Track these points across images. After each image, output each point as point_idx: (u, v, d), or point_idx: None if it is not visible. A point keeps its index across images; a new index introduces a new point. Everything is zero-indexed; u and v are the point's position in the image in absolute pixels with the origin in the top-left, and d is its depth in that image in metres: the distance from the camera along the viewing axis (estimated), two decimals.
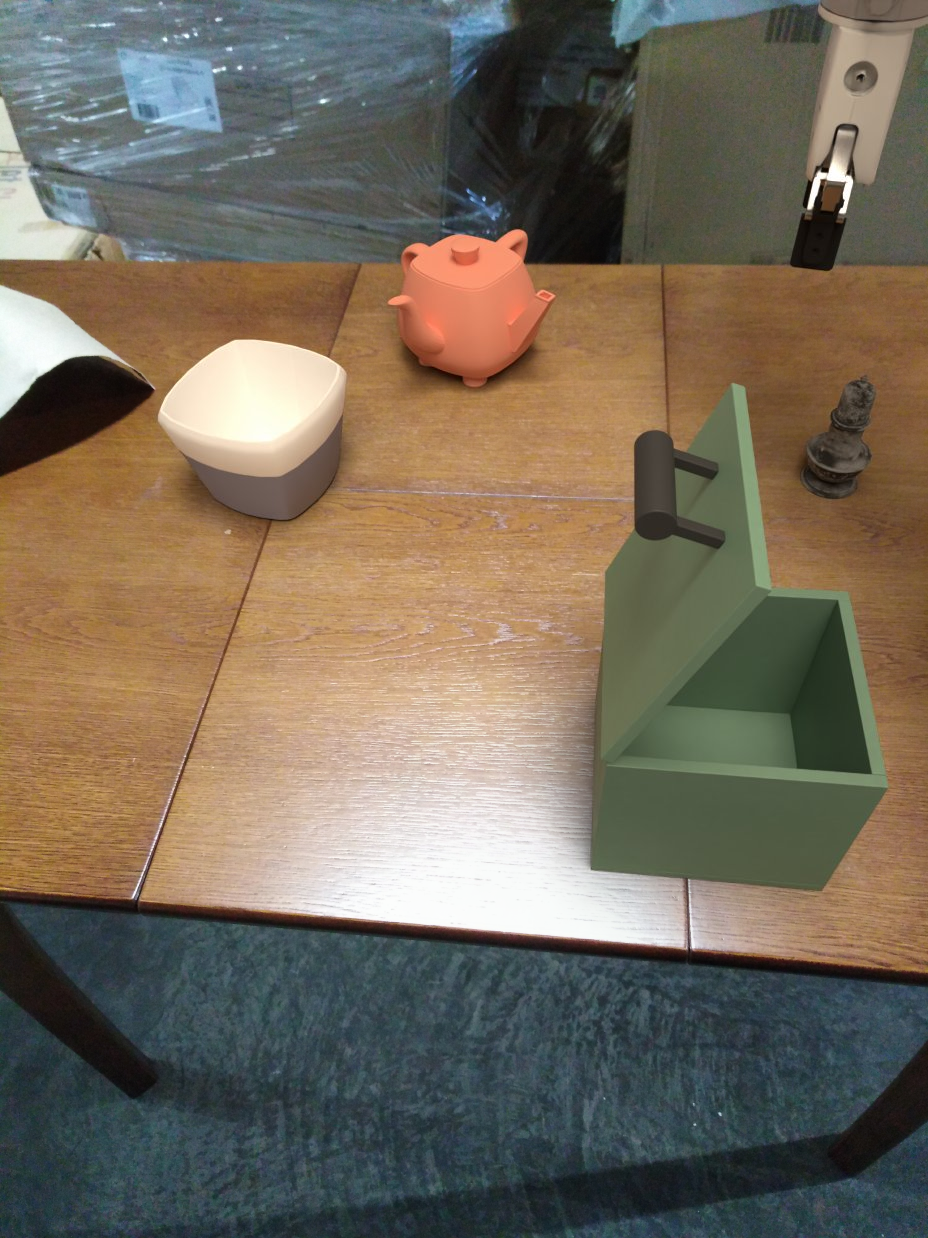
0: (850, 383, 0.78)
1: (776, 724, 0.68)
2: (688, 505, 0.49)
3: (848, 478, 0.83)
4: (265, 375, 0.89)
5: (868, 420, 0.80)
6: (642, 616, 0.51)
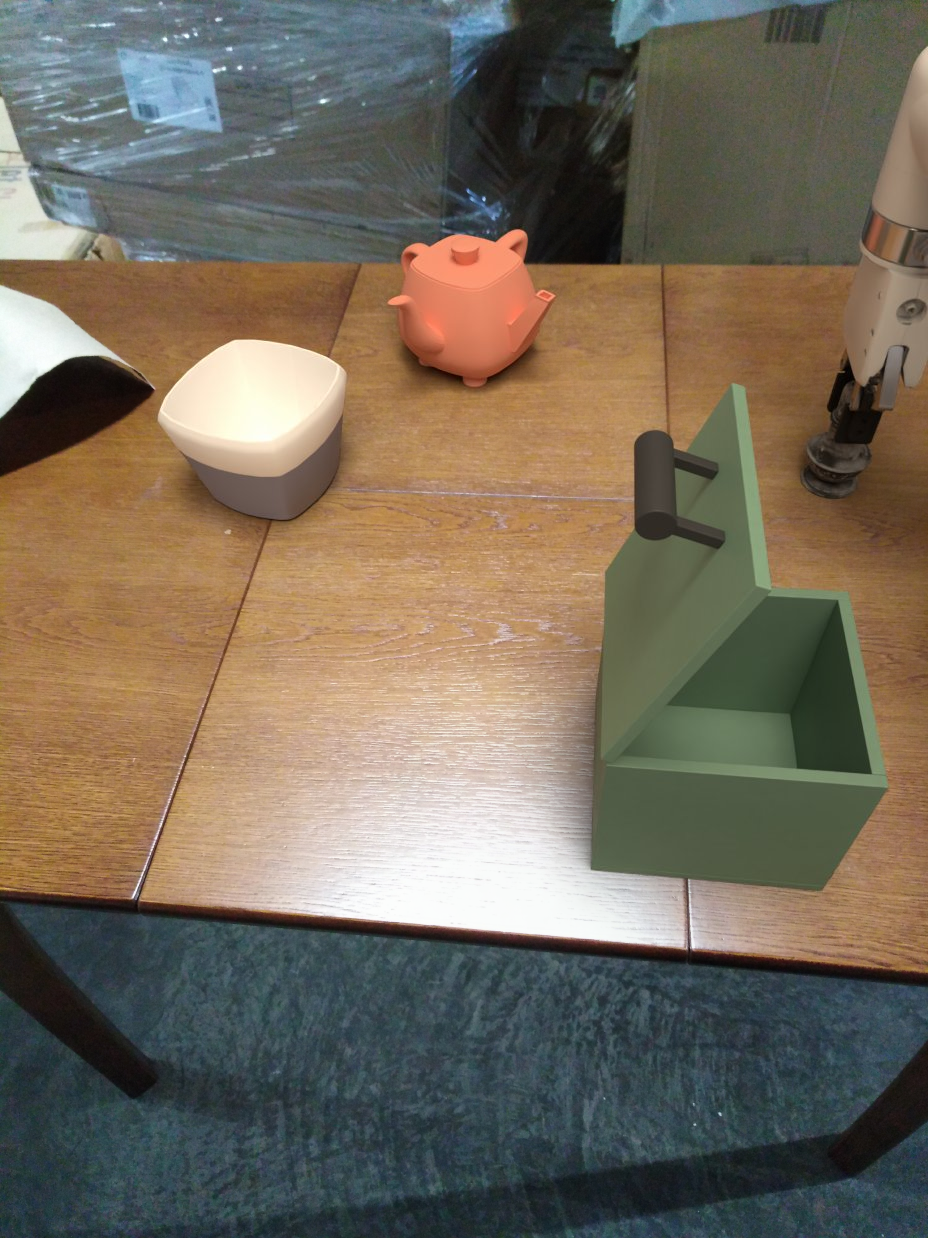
0: (850, 383, 0.78)
1: (776, 724, 0.68)
2: (688, 505, 0.49)
3: (848, 478, 0.83)
4: (265, 374, 0.89)
5: None
6: (642, 616, 0.51)
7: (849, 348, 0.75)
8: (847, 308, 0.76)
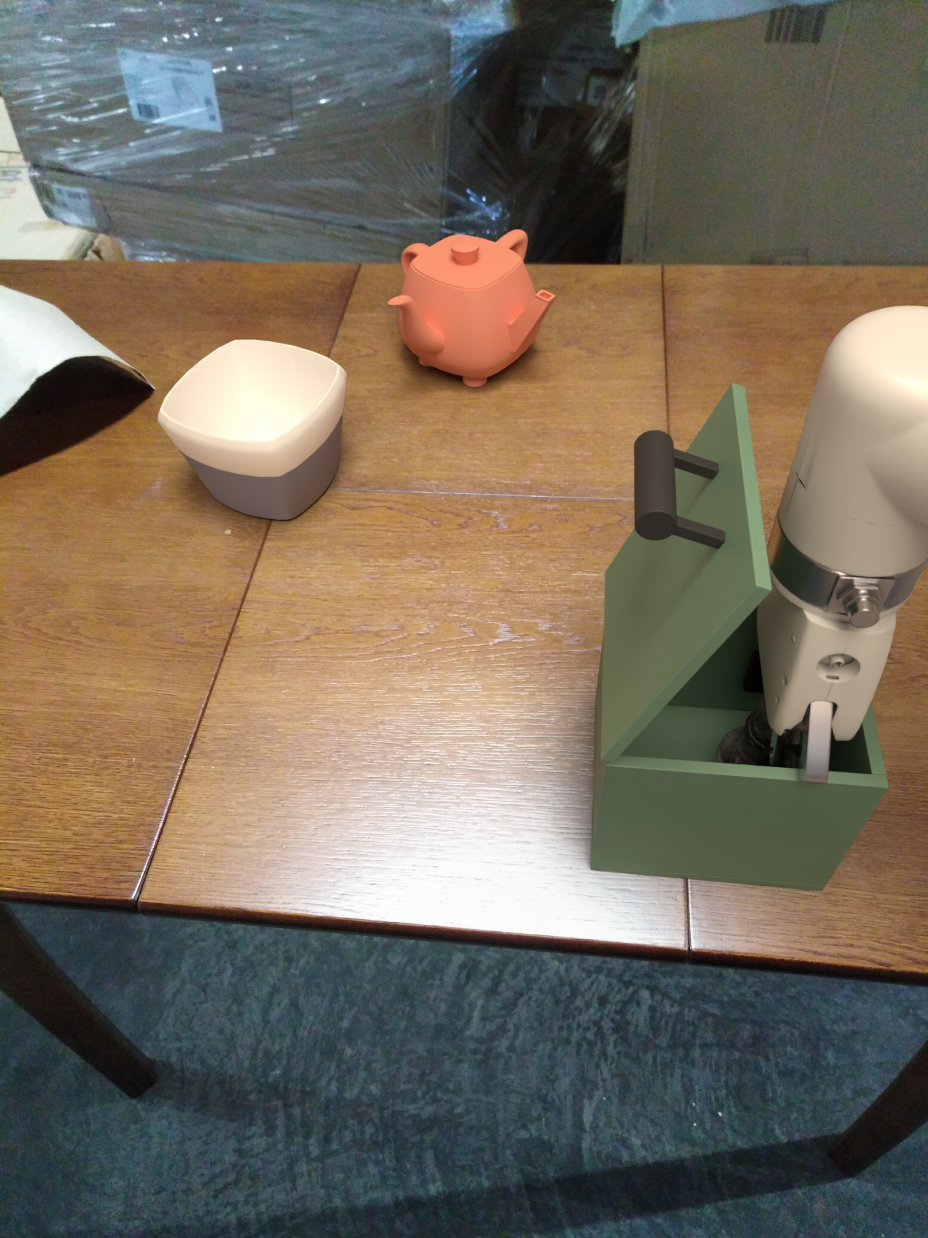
0: None
1: None
2: (688, 505, 0.49)
3: None
4: (265, 375, 0.89)
5: (795, 737, 0.59)
6: (642, 616, 0.51)
7: (762, 667, 0.54)
8: (761, 605, 0.55)
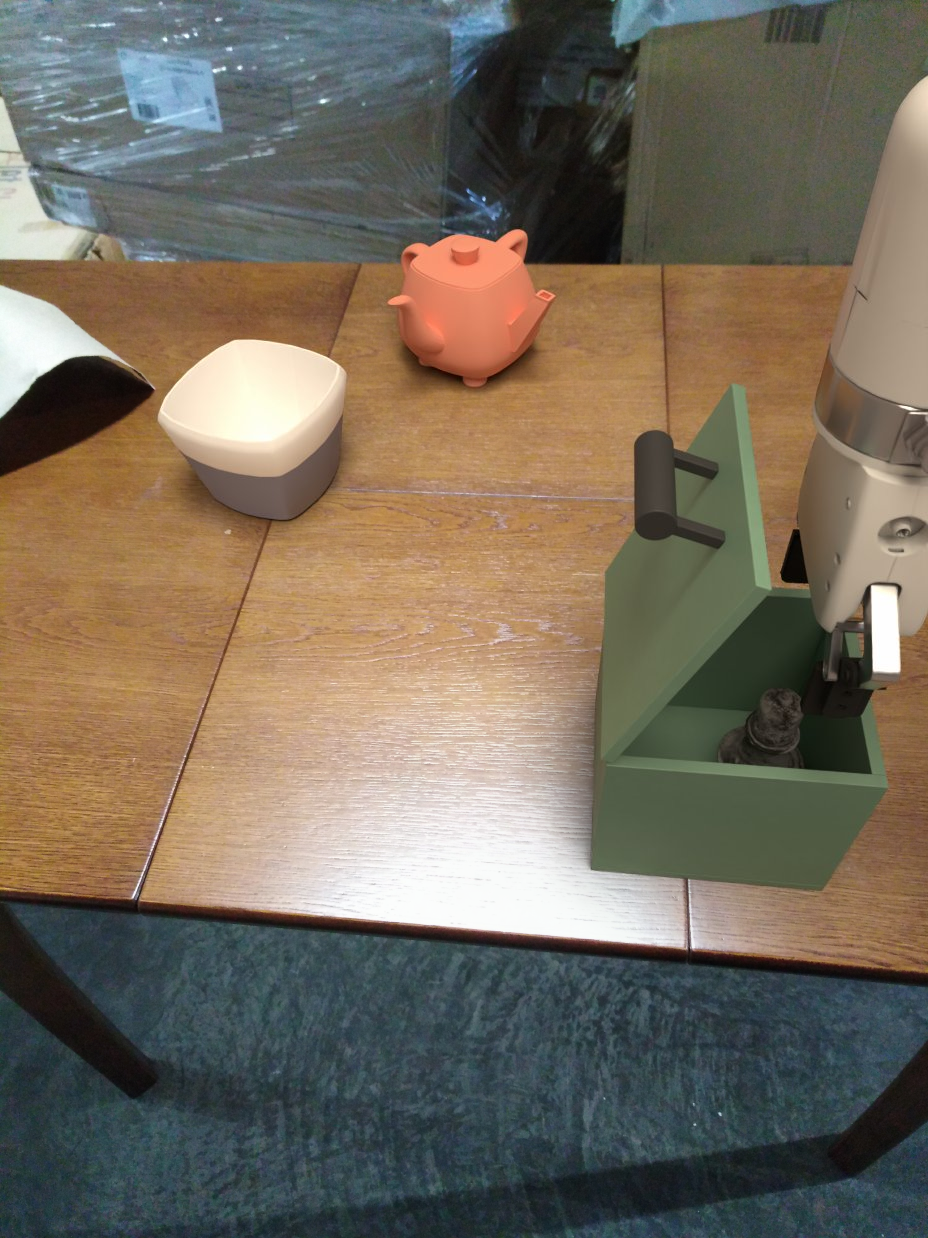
0: (768, 695, 0.57)
1: None
2: (688, 505, 0.49)
3: None
4: (265, 374, 0.89)
5: (795, 737, 0.59)
6: (642, 616, 0.51)
7: (806, 559, 0.46)
8: (803, 490, 0.48)
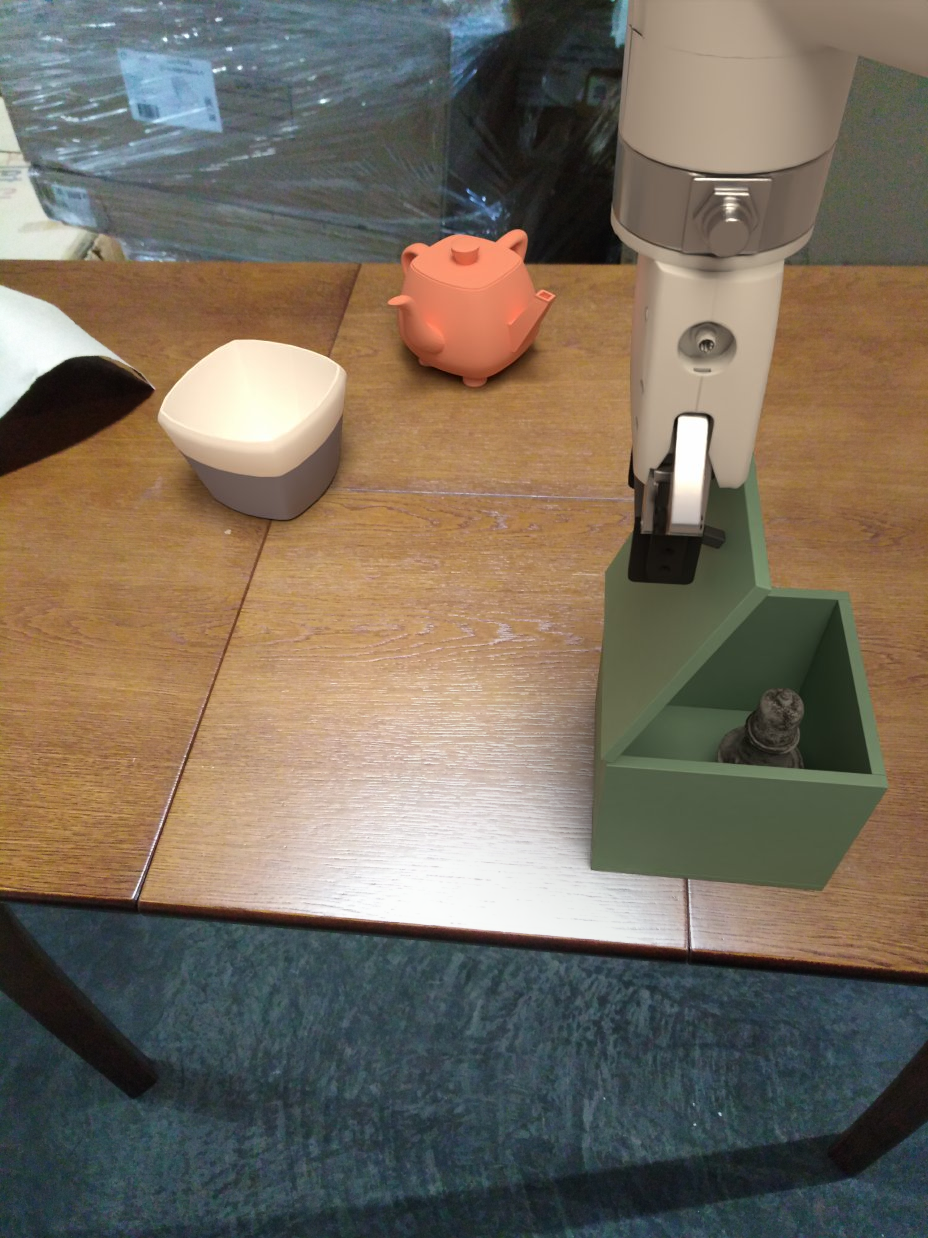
0: (768, 695, 0.57)
1: None
2: None
3: None
4: (265, 374, 0.89)
5: (795, 737, 0.59)
6: (642, 616, 0.51)
7: None
8: None
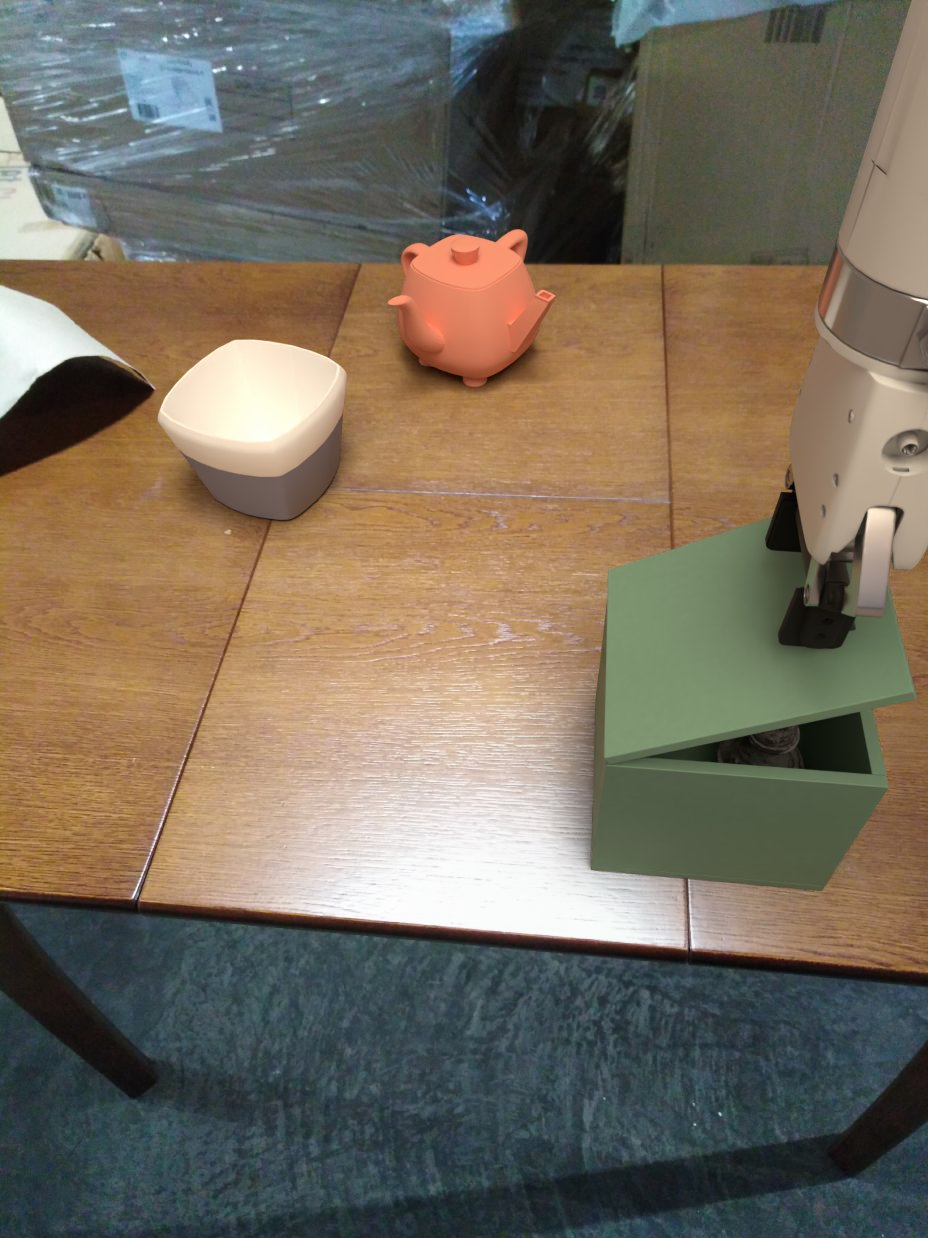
0: None
1: None
2: (782, 569, 0.52)
3: None
4: (265, 374, 0.89)
5: (795, 737, 0.59)
6: (690, 643, 0.52)
7: (798, 487, 0.43)
8: (797, 414, 0.44)
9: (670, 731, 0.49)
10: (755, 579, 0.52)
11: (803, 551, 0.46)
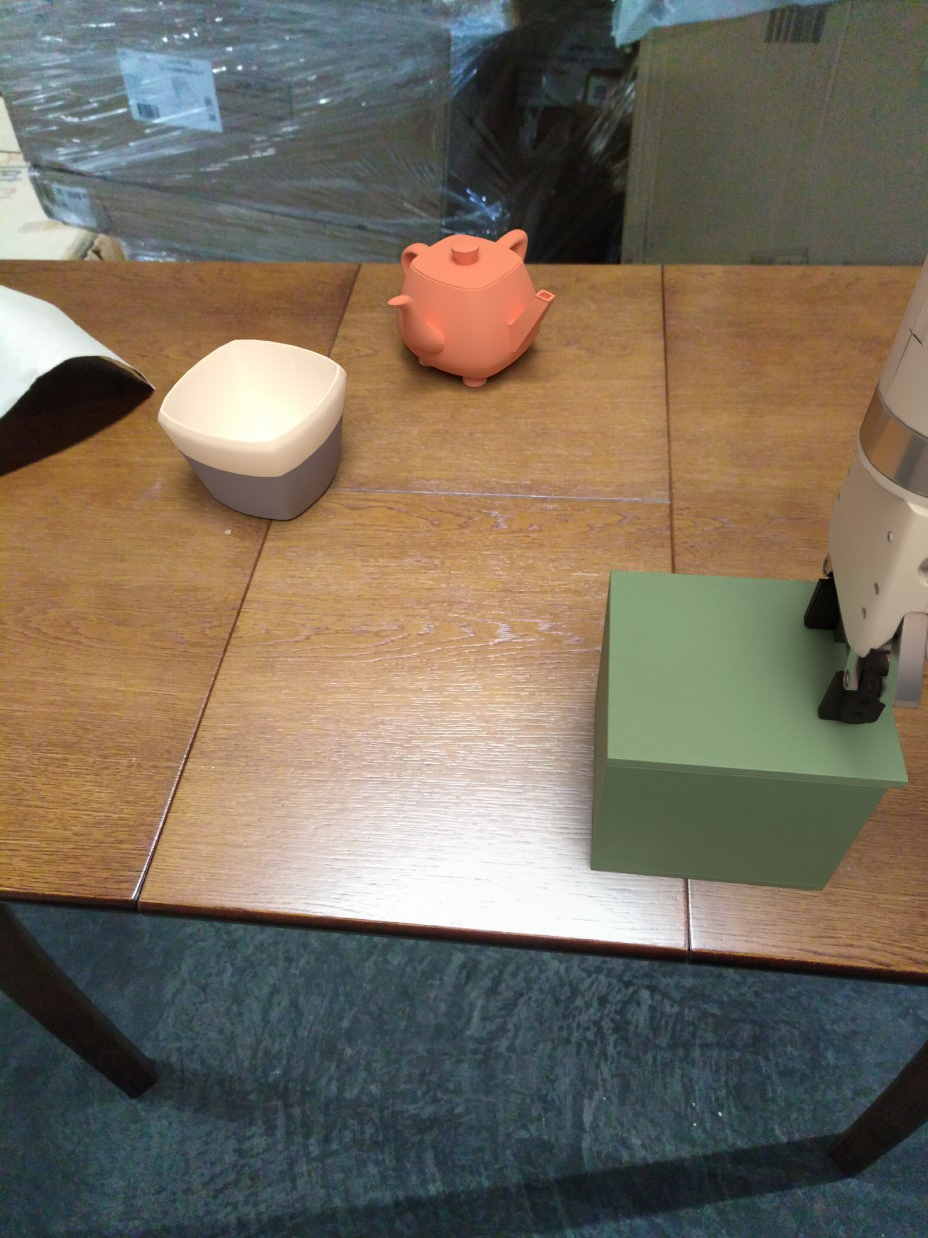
0: None
1: None
2: (791, 632, 0.56)
3: None
4: (265, 374, 0.89)
5: None
6: (700, 672, 0.54)
7: (838, 583, 0.48)
8: (836, 515, 0.49)
9: (679, 751, 0.51)
10: (764, 632, 0.56)
11: None
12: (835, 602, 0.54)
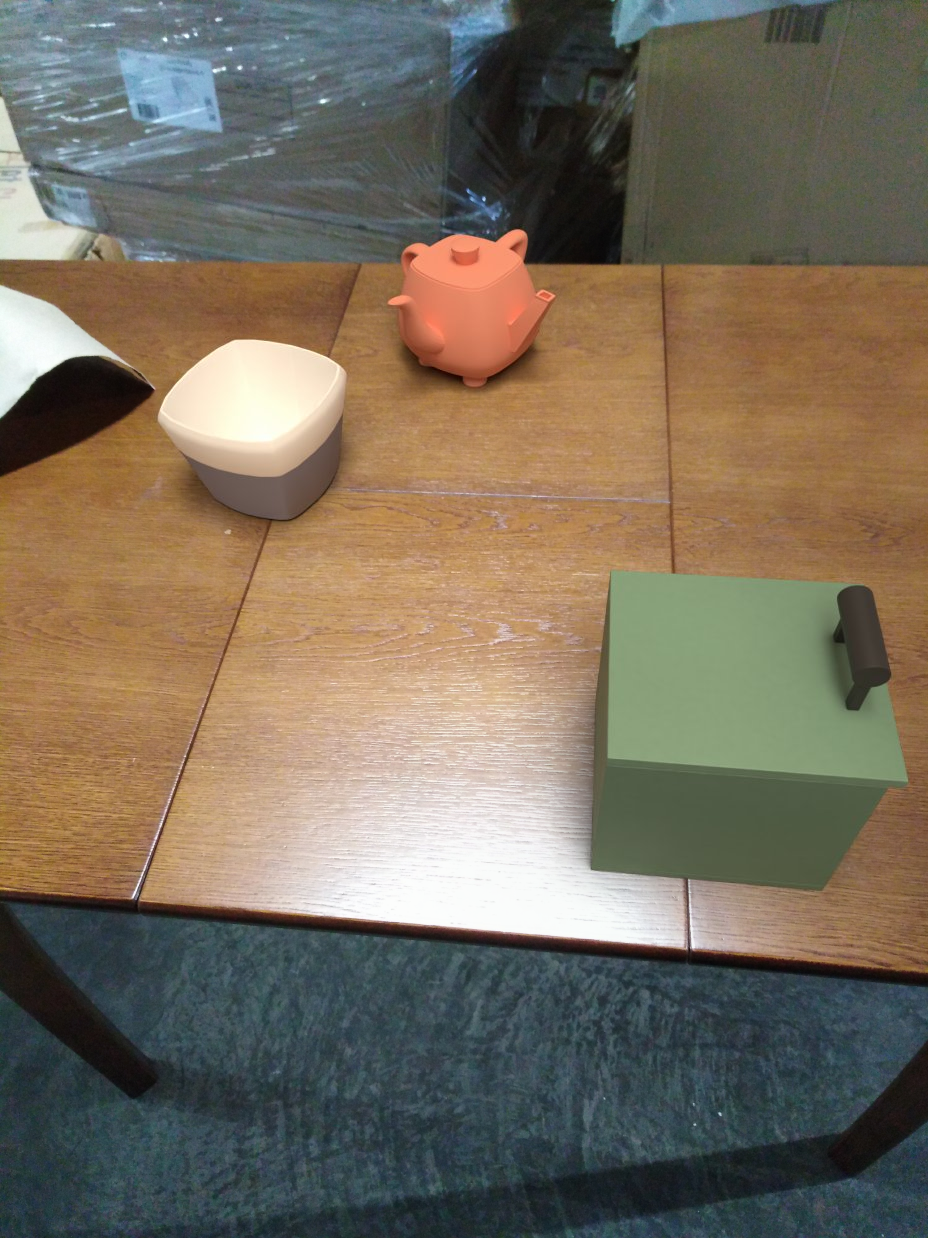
0: None
1: None
2: (791, 632, 0.56)
3: None
4: (265, 374, 0.89)
5: None
6: (700, 672, 0.54)
7: None
8: None
9: (679, 751, 0.51)
10: (764, 632, 0.56)
11: (852, 630, 0.51)
12: None
